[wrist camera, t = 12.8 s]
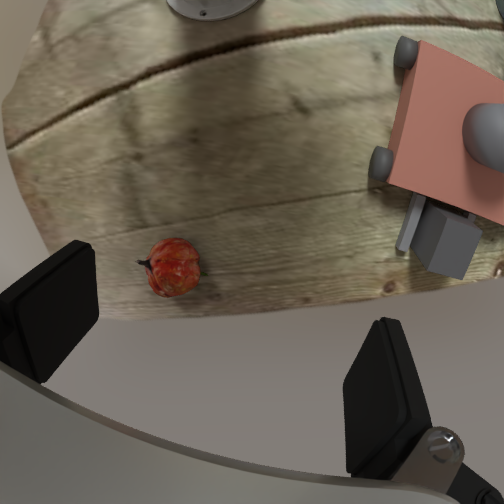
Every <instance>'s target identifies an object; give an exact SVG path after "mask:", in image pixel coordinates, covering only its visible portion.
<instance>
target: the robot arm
mask: <svg viewBox="0 0 504 504" xmlns="http://www.w3.org/2000/svg"><path fill="white" fill-rule="evenodd" d="M166 1H167V2H168V4H169V5H170V6H171V7H172V8H173V9H174V10H175V11H177V12H178V13H180V14H181V15H183V16H185V17H187V18H191V19H194V20H200V21H217V20H222V19H227V18H230V17H233V16H235V15H238V14H240V13H242V12H243V11H245V10H247V9H248V8H250V7H251V6H252V5H254V4H255V3H256V2H257V1H258V0H166ZM206 13H207V14H206ZM204 14H206V15H205V16H204ZM98 317H99V306H98V295H97V281H96V265H95V251H94V250H93V249H92V247H91V245H90V244H89V243H86V242H82V241H79V240H73V241H72V242H70V243H69V244H67V245H66V246H64V247H63V248H62V249H60V250H59V251H57V252H56V253H54V254H53V255H52V256H50V257H49V258H48V259H46V260H44V261H43V262H42V263H40V264H39V265H38V266H36V267H35V268H33V269H32V270H31V271H29V272H28V273H27V274H25V275H24V276H23V277H21V278H20V279H19V280H18V281H16V282H15V283H13V284H12V285H11V286H10V287H8V288H7V289H6V290H4V291H3V292H2V293H1V294H0V504H504V499H503V498H502V495H501V493H500V492H499V491H498V490H497V489H496V488H494V487H493V486H492V485H491V484H489V483H488V482H487V481H485V480H484V479H483V478H482V477H480V476H479V475H478V474H476V473H475V472H474V471H473V470H471V469H470V468H469V467H468V466H466V465H465V464H464V463H462V461H463V459H464V455H465V450H464V445H463V443H462V441H461V439H460V438H459V437H458V435H457V434H456V433H454V432H453V431H452V430H450V429H448V428H445V427H441V426H439V427H433V426H432V423H431V417H430V414H429V410H428V407H427V403H426V399H425V396H424V393H423V389H422V386H421V383H420V379H419V376H418V373H417V370H416V367H415V364H414V361H413V358H412V355H411V351H410V348H409V346H408V343H407V340H406V337H405V334H404V331H403V329H402V326H401V323H400V321H399V320H396V319H391V318H386V317H382V318H381V319H380V320H379V321H378V320H376V321H374V323H373V325H372V326H371V329H370V331H369V333H368V335H367V337H366V339H365V341H364V343H363V345H362V347H361V349H360V351H359V353H358V355H357V357H356V358H355V360H354V362H353V364H352V366H351V368H350V370H349V372H348V374H347V375H346V377H345V380H344V383H343V399H344V400H343V401H344V419H345V441H346V471H347V473H351V477H340V476H330V475H321V474H314V473H306V472H300V471H292V470H286V469H280V468H274V467H269V466H263V465H258V464H253V463H249V462H244V461H239V460H235V459H231V458H227V457H223V456H219V455H215V454H211V453H208V452H204V451H200V450H197V449H193V448H190V447H187V446H183V445H180V444H177V443H174V442H171V441H168V440H165V439H161V438H159V437H156V436H153V435H150V434H148V433H145V432H142V431H139V430H137V429H134V428H132V427H129V426H127V425H124V424H122V423H119V422H116V421H114V420H112V419H110V418H107V417H105V416H103V415H100V414H98V413H96V412H94V411H91V410H89V409H87V408H85V407H83V406H81V405H79V404H77V403H75V402H73V401H70V400H68V399H66V398H64V397H62V396H60V395H59V394H57V393H55V392H53V391H51V390H49V389H47V388H46V387H43V386H42V385H40V384H41V383H45V382H46V381H47V380H48V379H49V378H50V377H51V376H52V374H53V373H54V372H55V371H56V369H57V368H58V367H59V365H60V364H61V363H62V362H63V361H64V360H65V358H66V357H67V356H68V355H69V354H70V352H71V351H72V350H73V349H74V347H75V346H76V345H77V344H78V343H79V342H80V341H81V339H82V338H83V337H84V336H85V335H86V333H87V332H88V331H89V330H90V329H91V328H92V327H93V325H94V324H95V323H96V322H97V320H98Z"/></svg>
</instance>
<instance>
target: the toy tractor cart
mask: <svg viewBox="0 0 504 504" xmlns="http://www.w3.org/2000/svg"><path fill="white" fill-rule="evenodd" d="M394 64H395V65H396V66H399V67H402V68H405V75H404V80H403V85H402V89H401V94H400V99H399V103H398V108H397V112H396V117H395V121H394V125H393V129H392V133H391V137H390V141H389V145H388V149H386V148H383V147H380V146H376V148H375V149H374V151H373V154H372V156H371V160H370V164H369V177H370V178H372V179H376V180H379V181H382V182H385V181H387V182H388V183H389V184H393V185H396V186H399V187H402V188H405V189H408V190H411V191H414V192H413V195H412V198H411V201H410V204H409V207H408V210H407V213H406V216H405V219H404V222H403V225H402V228H401V231H400V234H399V236H398V239H397V242H396V246H397V248H398V250H402V251H405V252H407V251H408V248H409V246H410V243H411V240H412V238H413V235H414V232H415V229H416V227H417V224H418V221H419V218H420V215H421V212H422V209H423V206H424V203H425V200H426V196H429V197H432V198H434V199H437V200H440V201H443V202H445V203H448V204H451V205H454V206H456V207H459V208H462V209H464V212H463V216H465V217H466V218H467V219H469V220H470V221H471V222H472V223H474V222H475V219H476V215H475V214H477V215H479V216H482V217H484V218H487V219H489V220H492V221H494V222H496V223H499V224H501V225H503V226H504V81H502V80H500V79H499V78H497V77H495V76H494V75H492V74H490V73H488V72H487V71H485V70H483V69H481V68H479V67H478V66H476V65H474V64H472V63H470V62H468V61H466V60H464V59H462V58H460V57H458V56H456V55H454V54H452V53H450V52H448V51H445V50H443V49H441V48H439V47H437V46H434V45H432V44H430V43H427V42H425V41H422V40H420V41H418V42H417V41H414V40H412V39H409V38H407V37H404V36H401V37H400V39H399V40H398V43H397V45H396V49H395V53H394ZM424 195H426V196H424ZM473 213H474V214H473Z"/></svg>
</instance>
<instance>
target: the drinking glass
mask: <svg viewBox="0 0 504 504" xmlns="http://www.w3.org/2000/svg"><path fill="white" fill-rule="evenodd" d="M496 4H497V7H498V9H499V11H500V13H501V15H502V17H503V19H504V0H496Z"/></svg>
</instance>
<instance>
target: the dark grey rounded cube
mask: <svg viewBox="0 0 504 504" xmlns="http://www.w3.org/2000/svg"><path fill="white" fill-rule="evenodd" d="M482 232H483V231H482V230H481V229H480V228H479V227H477V226H476V225H475V224H474V223H472V222H471V221H470V220H469V219H467V218H466V217H465V216H463V215H462V214H461V213H459V212H458V211H456V210H453V209H450V208H448V207H445V206H442V205H439V204H436V203H434V202H431V201H428V200H425V203H424V206H423V209H422V212H421V215H420V218H419V221H418V224H417V227H416V229H415V232H414V235H413V238H412V240H411V243H410V246H411V248H412V249H413V251H414V252H415V254H416V255H417V257H418V258H419V259H420V261H421V262H422V264H423V265H424V267H425V268H426V270H427V271H430V272H434V273H438V274H441V275H445V276H449V277H452V278H456V279H460V280H463V277H464V275H465V273H466V271H467V269H468V266H469V264H470V262H471V259H472V257H473V255H474V252H475V250H476V248H477V245H478V243H479V240H480V238H481V235H482Z"/></svg>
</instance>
